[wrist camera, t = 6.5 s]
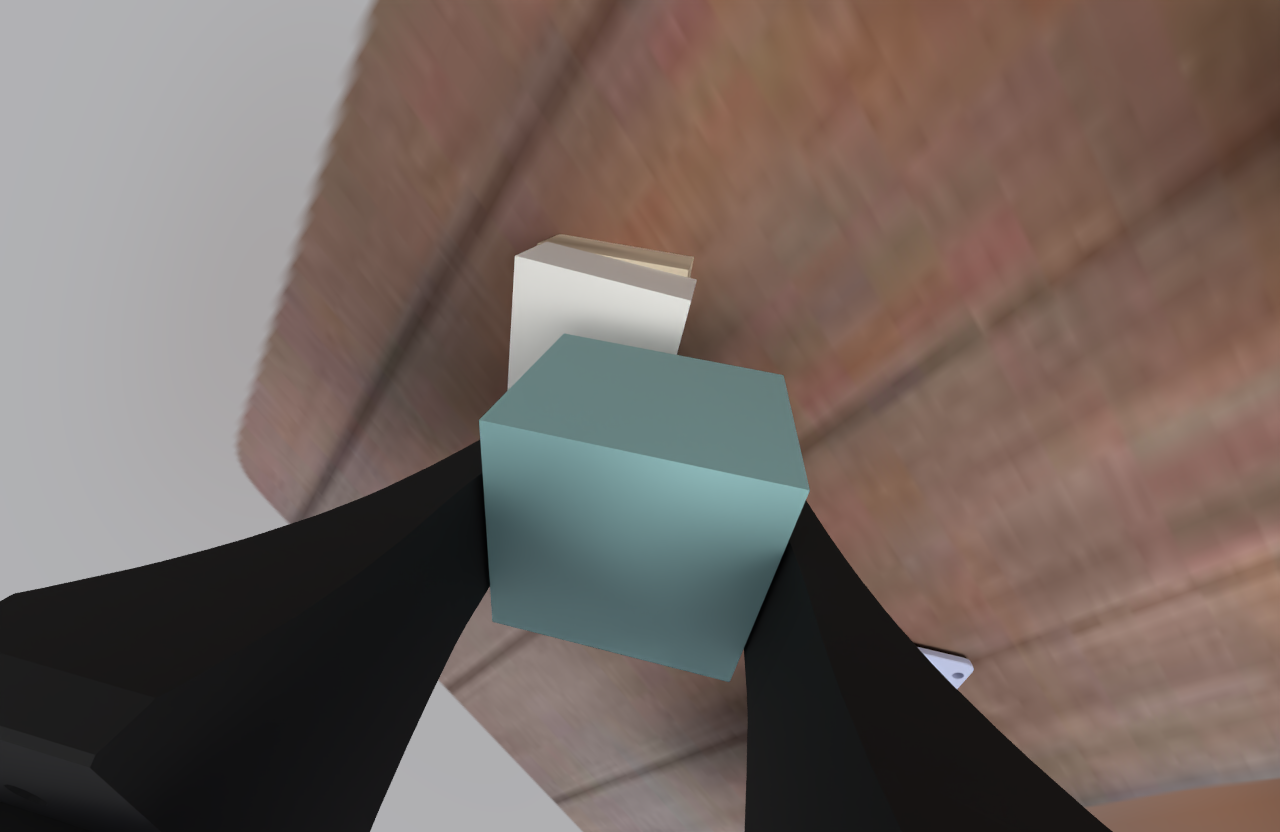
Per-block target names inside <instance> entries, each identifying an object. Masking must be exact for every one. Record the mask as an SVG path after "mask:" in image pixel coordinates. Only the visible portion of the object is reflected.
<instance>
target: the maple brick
mask: <svg viewBox="0 0 1280 832" xmlns="http://www.w3.org/2000/svg"><path fill="white" fill-rule="evenodd" d="M544 242H551V243H555V244H559V245H562V246H566V247H570V248H574V249H578V250H582V251H586V252H590V253H594V254H598V255H602V256H606V257H610V258H614V259H618V260H622V261H625V262H629V263H633V264H637V265H641V266H645V267H649V268H653V269H657V270H661V271H665V272H669V273H672V274H676V275H680V276H684V277H688V278H690V276H691V271H692V265H693V260H694V257H691V256H685V255H679V254H674V253H668V252H662V251H656V250H650V249H645V248H639V247H633V246H627V245H621V244H616V243H610V242H604V241H598V240H592V239H586V238H581V237H575V236H569V235H563V234H559V235H556V236H554V237H551V238H549V239H547V240H544V241H542V242H540V243H537V246H538V245H540V244H542V243H544Z"/></svg>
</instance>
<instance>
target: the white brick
mask: <svg viewBox="0 0 1280 832" xmlns="http://www.w3.org/2000/svg"><path fill="white" fill-rule="evenodd" d="M696 281H697V280H696V279H692V278H688V277H684V276H680V275H676V274H672V273H669V272H665V271H661V270H657V269H653V268H649V267H645V266H641V265H637V264H633V263H629V262H625V261H622V260H618V259H614V258H610V257H606V256H602V255H598V254H594V253H590V252H586V251H582V250H578V249H574V248H570V247H566V246H562V245H559V244H555V243H551V242H544V243H542V244H540V245H538V246H536V247H533V248H531V249H529V250H527V251H524V252H522V253H520V254H518V255H515V265H514V283H513V301H512V319H511V336H510V354H509V372H508V389H507V391H508V390H509V389H510V388H511V387H512V386H513V385H514V384H515V383H516V382H517V381H518V380H519V379H520V378H521V377H522V376H523V375H524V374H525V373H526V372H527V371H528V369H529V368H530V367H531V366H532V365H533V364H534V363H535V362H536V361H537V360H538V359H539V358H540V357H541V356H542V355H543V354H544V353H545V352H546V351H547V350H548V349H549V348H550V347H551V346H552V345H553V344H554V343H555V342H556V341H557V340H558V339H559V338H560V337H561V336H562V335H563V334H570V335H575V336H580V337H585V338H591V339H596V340H601V341H606V342H612V343H617V344H622V345H627V346H633V347H638V348H643V349H648V350H654V351H659V352H664V353H669V354H675V355H677V352H678V348H679V345H680V341H681V337H682V333H683V330H684V326H685V322H686V319H687V315H688V311H689V307H690V304H691V300H692V296H693V292H694V289H695V285H696Z"/></svg>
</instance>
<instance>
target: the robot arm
mask: <svg viewBox="0 0 1280 832" xmlns="http://www.w3.org/2000/svg"><path fill="white" fill-rule="evenodd" d="M489 587H490V576H489V561H488V547H487V532H486V517H485V502H484V487H483V472H482V457H481V442H480V440H479V441H477V442H475V443H473V444H471V445H470V446H468V447H466V448H464V449H462V450H460V451H458V452H457V453H455V454H453V455H451V456H449V457H447V458H445V459H443V460H441V461H440V462H438V463H436V464H434V465H432V466H430V467H428V468H426V469H424V470H421V471H419V472H417V473H415V474H413V475H411V476H409V477H407V478H405V479H403V480H401V481H399V482H396V483H394V484H392V485H390V486H388V487H386V488H384V489H381V490H379V491H377V492H375V493H372V494H370V495H368V496H365V497H363V498H360V499H358V500H355V501H353V502H350V503H348V504H345V505H343V506H340V507H337V508H335V509H332V510H330V511H327V512H324V513H322V514H319V515H316V516H313V517H310V518H307V519H304V520H301V521H298V522H295V523H292V524H289V525H286V526H283V527H280V528H277V529H274V530H271V531H268V532H265V533H262V534H259V535H256V536H253V537H249V538H246V539H243V540H239V541H236V542H233V543H229V544H225V545H222V546H218V547H215V548H211V549H208V550H204V551H201V552H197V553H193V554H189V555H185V556H181V557H177V558H173V559H169V560H166V561H162V562H158V563H154V564H149V565H145V566H141V567H137V568H133V569H129V570H124V571H119V572H115V573H110V574H105V575H101V576H96V577H92V578H87V579H82V580H78V581H73V582H68V583H64V584H59V585H55V586H50V587H45V588H41V589H35V590H30V591H26V592H20V593H15V594H13V595H11V596H9V597H7V598H5V599H4V600H2V601H0V832H370V830H371V828H372V825H373V823H374V821H375V818H376V815H377V813H378V811H379V809H380V806H381V804H382V802H383V799H384V797H385V795H386V793H387V790H388V788H389V786H390V784H391V781H392V779H393V777H394V774H395V772H396V770H397V768H398V766H399V763H400V761H401V758H402V756H403V754H404V752H405V750H406V747H407V745H408V743H409V741H410V739H411V736H412V734H413V732H414V730H415V728H416V726H417V723H418V721H419V719H420V717H421V715H422V713H423V711H424V708H425V706H426V704H427V702H428V700H429V698H430V696H431V694H432V691H433V689H434V687H435V685H436V683H437V681H438V679H439V677H440V675H441V673H442V671H443V669H444V667H445V665H446V663H447V661H448V659H449V656H450V654H451V652H452V650H453V648H454V646H455V644H456V642H457V641H458V639H459V637H460V635H461V633H462V632H463V630H464V628H465V626H466V624H467V623H468V621H469V619H470V618H471V616H472V614H473V613H474V611H475V609H476V608H477V606H478V605H479V603H480V601H481V600H482V598H483V596H484V595H485V593H486V592H487V590H488V588H489ZM744 657H745V671H746V685H747V707H748V737H747V780H746V809H745V832H1112V831H1111V830H1110V829H1109V828H1107V827H1106V826H1105V825H1104V824H1102V823H1101V822H1100V821H1099V820H1098V819H1097V818H1096V817H1094V816H1093V815H1092V814H1091V813H1090V812H1089V811H1087V810H1086V809H1085V808H1084V807H1083V806H1082V805H1081V804H1079V803H1078V802H1077V801H1076V800H1075V799H1074V798H1073V797H1072V796H1070V795H1069V794H1068V793H1067V792H1066V791H1065V790H1064V789H1063V788H1061V787H1060V786H1059V785H1058V784H1057V783H1056V782H1055V781H1054V780H1052V779H1051V778H1050V777H1049V776H1048V775H1047V774H1046V773H1045V772H1043V771H1042V770H1041V769H1040V768H1039V767H1038V766H1037V765H1036V764H1034V763H1033V762H1032V761H1031V760H1030V759H1029V758H1028V757H1027V756H1026V755H1025V754H1024V753H1023V752H1021V751H1020V750H1019V749H1018V748H1017V747H1016V746H1015V745H1014V744H1013V743H1012V742H1011V741H1010V740H1009V739H1007V738H1006V737H1005V736H1004V735H1003V734H1002V733H1001V732H1000V731H999V730H998V729H997V728H996V727H995V726H994V725H993V724H992V723H991V722H990V721H989V720H988V719H987V718H986V717H985V716H984V715H983V714H981V713H980V712H979V711H978V710H977V709H976V708H975V707H974V706H973V705H972V704H971V703H970V702H969V701H968V700H967V699H966V698H965V697H964V696H963V695H962V694H961V693H960V692H959V691H958V690H957V689H958V688H959V686H960V685H961V684H962V683H963V682H964V681H965V680H966V679H967V678H968V676H969V675H970V674H971V673H972V672H973V670H974V669H973V666H972V664H971V662H970V661H969V660H968V659H966V658H963V657H959V656H955V655H950V654H946V653H942V652H938V651H933V650H929V649H925V648H921V647H917V646H916V645H915V644H914V643H913V642H912V641H911V640H910V639H909V637H908V636H907V635H906V634H905V633H904V632H903V631H902V630H901V629H900V627H899V626H898V625H897V624H896V623H895V622H894V620H893V619H892V618H891V617H890V616H889V614H888V613H887V612H886V611H885V610H884V608H883V607H882V606H881V605H880V603H879V602H878V601H877V600H876V598H875V597H874V596H873V595H872V593H871V592H870V591H869V589H868V588H867V587H866V586H865V584H864V583H863V582H862V581H861V579H860V578H859V577H858V575H857V574H856V573H855V571H854V570H853V569H852V567H851V566H850V565H849V563H848V562H847V560H846V559H845V558H844V556H843V555H842V553H841V552H840V551H839V549H838V548H837V546H836V545H835V543H834V542H833V541H832V539H831V538H830V536H829V535H828V533H827V532H826V530H825V529H824V527H823V526H822V524H821V523H820V521H819V520H818V518H817V517H816V515H815V513H814V512H813V510H812V509H811V507H810V506H809V504H808V503H807V501H806V500H805V503H804V505H803V508H802V510H801V512H800V515H799V517H798V520H797V522H796V524H795V527H794V529H793V532H792V534H791V536H790V539H789V541H788V544H787V546H786V548H785V551H784V553H783V556H782V558H781V560H780V563H779V565H778V567H777V570H776V572H775V575H774V577H773V579H772V582H771V584H770V587H769V589H768V591H767V594H766V596H765V599H764V601H763V603H762V606H761V608H760V611H759V613H758V615H757V618H756V620H755V622H754V625H753V627H752V630H751V632H750V634H749V637H748V639H747V642H746V644H745V646H744Z"/></svg>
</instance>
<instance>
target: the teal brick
mask: <svg viewBox="0 0 1280 832" xmlns="http://www.w3.org/2000/svg"><path fill="white" fill-rule="evenodd" d="M479 427H480V442H481V457H482V472H483V487H484V502H485V517H486V532H487V547H488V561H489V576H490V591H491V606H492V621H493V622H496V623H500V624H504V625H508V626H511V627H515V628H519V629H523V630H527V631H531V632H535V633H539V634H543V635H547V636H551V637H555V638H559V639H562V640H566V641H570V642H574V643H578V644H582V645H586V646H590V647H594V648H598V649H602V650H606V651H610V652H613V653H617V654H621V655H625V656H629V657H633V658H637V659H641V660H645V661H649V662H653V663H657V664H661V665H665V666H668V667H672V668H676V669H680V670H684V671H688V672H692V673H696V674H700V675H704V676H708V677H712V678H716V679H719V680H723V681H727V682H730V680H731V678H732V675H733V673H734V670H735V668H736V666H737V663H738V661H739V658H740V656H741V654H742V651H743V649H744V646H745V644H746V642H747V639H748V637H749V634H750V632H751V630H752V627H753V625H754V622H755V620H756V618H757V615H758V613H759V611H760V608H761V606H762V603H763V601H764V599H765V596H766V594H767V591H768V589H769V587H770V584H771V582H772V579H773V577H774V575H775V572H776V570H777V567H778V565H779V563H780V560H781V558H782V556H783V553H784V551H785V548H786V546H787V544H788V541H789V539H790V536H791V534H792V532H793V529H794V527H795V524H796V522H797V520H798V517H799V515H800V512H801V510H802V508H803V505H804V503H805V500H806V498H807V496H808V493H809V491H810V489H809V485H808V481H807V476H806V472H805V467H804V463H803V459H802V454H801V450H800V446H799V441H798V437H797V432H796V428H795V424H794V419H793V415H792V411H791V406H790V402H789V397H788V393H787V389H786V384H785V380H784V376H783V375H779V374H774V373H769V372H764V371H758V370H753V369H748V368H743V367H737V366H732V365H727V364H722V363H716V362H711V361H706V360H701V359H696V358H690V357H685V356H680V355H675V354H669V353H664V352H659V351H654V350H648V349H643V348H638V347H633V346H627V345H622V344H617V343H612V342H606V341H601V340H596V339H591V338H585V337H580V336H575V335H570V334H563V335H562V336H561V337H560V338H559V339H558V340H557V341H556V342H555V343H554V344H553V345H552V346H551V347H550V348H549V349H548V350H547V351H546V352H545V353H544V354H543V355H542V356H541V357H540V358H539V359H538V360H537V361H536V362H535V363H534V364H533V365H532V366H531V367H530V368H529V369H528V371H527V372H526V373H525V374H524V375H523V376H522V377H521V378H520V379H519V380H518V381H517V382H516V383H515V384H514V385H513V386H512V387H511V388H510V389H509V390H508V391H507V392H506V393H505V394H504V395H503V396H502V397H501V398H500V399H499V400H498V401H497V402H496V403H495V404H494V405H493V406H492V407H491V408H490V409H489V410H488V411H487V412H486V413H485V414H484V415H483V416H482V418H481V419H480V420H479Z"/></svg>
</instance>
